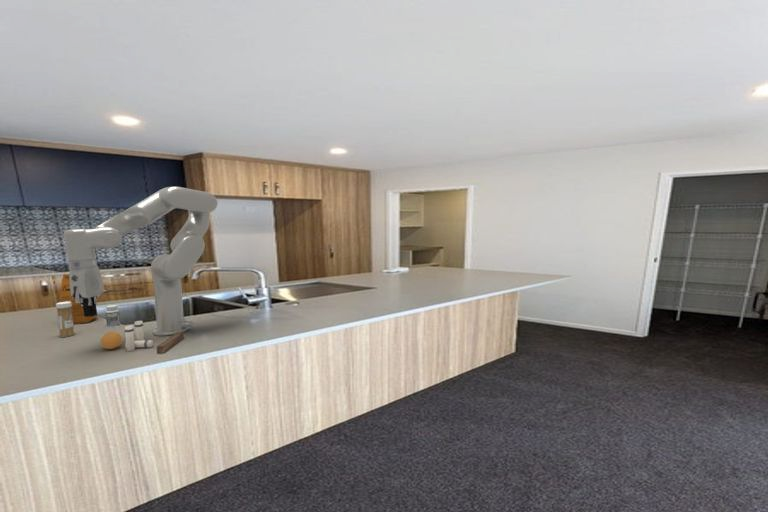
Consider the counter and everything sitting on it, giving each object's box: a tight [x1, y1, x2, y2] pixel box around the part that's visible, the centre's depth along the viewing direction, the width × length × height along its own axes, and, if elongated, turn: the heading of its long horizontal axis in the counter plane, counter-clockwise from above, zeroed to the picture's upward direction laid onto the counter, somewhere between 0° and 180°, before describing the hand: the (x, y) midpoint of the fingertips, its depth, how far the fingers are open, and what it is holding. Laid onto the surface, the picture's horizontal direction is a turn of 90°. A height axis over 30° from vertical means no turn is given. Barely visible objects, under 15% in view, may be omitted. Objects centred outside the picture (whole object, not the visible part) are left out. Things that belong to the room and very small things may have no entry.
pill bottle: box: [105, 304, 121, 327], centre depth 157 cm, size 5×5×8 cm
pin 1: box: [124, 324, 136, 352], centre depth 125 cm, size 3×3×8 cm
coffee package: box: [59, 273, 99, 325], centre depth 162 cm, size 10×12×22 cm
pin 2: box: [133, 320, 145, 341], centre depth 131 cm, size 3×3×8 cm
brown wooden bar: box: [156, 332, 184, 354], centre depth 130 cm, size 2×16×2 cm, turn 7°
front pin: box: [124, 339, 154, 349], centre depth 128 cm, size 3×3×8 cm
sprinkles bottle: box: [55, 301, 75, 338], centre depth 142 cm, size 5×5×13 cm
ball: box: [100, 331, 123, 350], centre depth 127 cm, size 6×6×6 cm
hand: (90, 315), depth 127 cm, fingers closed
